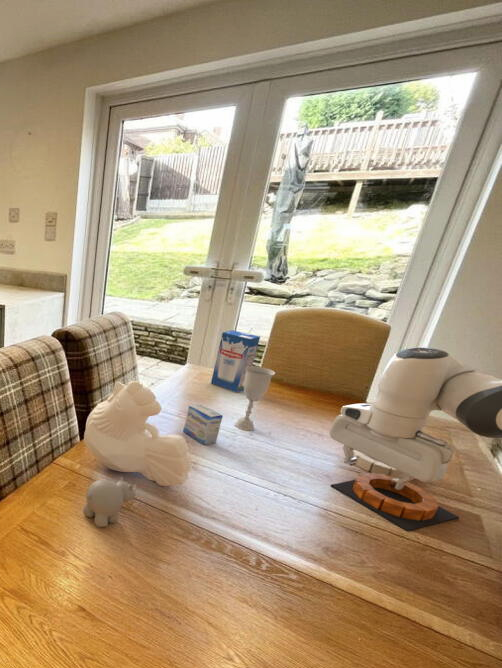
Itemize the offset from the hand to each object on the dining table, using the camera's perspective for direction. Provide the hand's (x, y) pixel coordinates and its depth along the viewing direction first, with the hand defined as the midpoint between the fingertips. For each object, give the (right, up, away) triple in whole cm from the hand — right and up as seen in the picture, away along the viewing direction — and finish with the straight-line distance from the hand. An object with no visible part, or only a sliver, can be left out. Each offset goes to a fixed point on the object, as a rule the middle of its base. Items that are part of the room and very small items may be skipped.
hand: (371, 475), depth 90 cm
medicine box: (-28, +5, +22) cm, 36 cm away
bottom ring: (+12, 0, +10) cm, 15 cm away
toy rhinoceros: (-62, -6, -8) cm, 63 cm away
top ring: (+1, -5, -4) cm, 6 cm away
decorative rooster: (-54, -1, +6) cm, 54 cm away
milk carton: (+1, +19, +57) cm, 60 cm away
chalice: (-11, +8, +28) cm, 31 cm away
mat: (+1, -5, -3) cm, 6 cm away
